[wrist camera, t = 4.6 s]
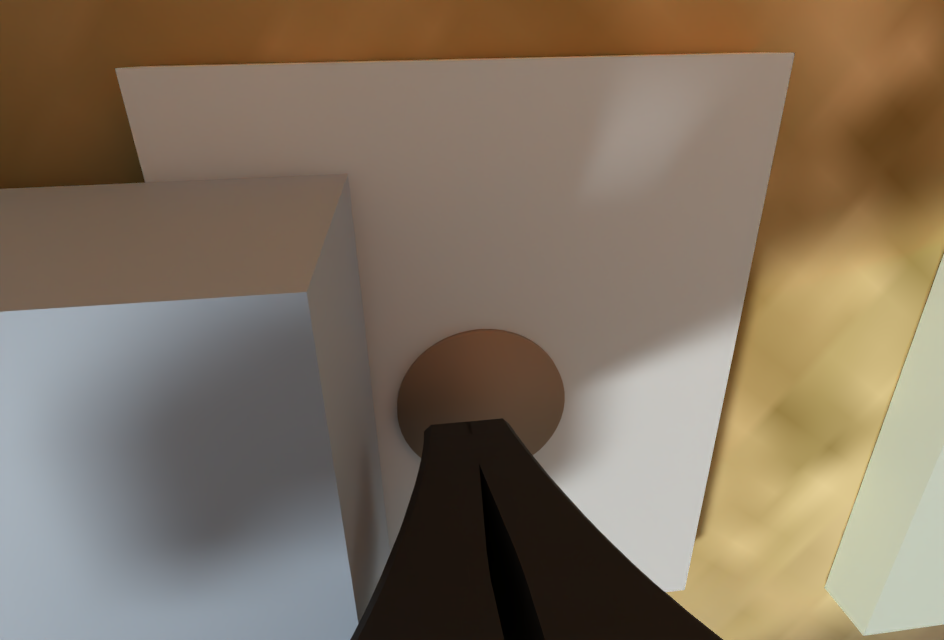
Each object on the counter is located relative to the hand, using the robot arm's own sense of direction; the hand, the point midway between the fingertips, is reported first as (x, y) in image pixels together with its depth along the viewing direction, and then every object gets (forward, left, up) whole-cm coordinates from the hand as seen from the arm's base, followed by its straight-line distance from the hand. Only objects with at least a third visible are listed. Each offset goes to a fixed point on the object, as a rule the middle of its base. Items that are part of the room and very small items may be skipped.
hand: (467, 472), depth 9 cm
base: (0, 0, -3) cm, 3 cm away
